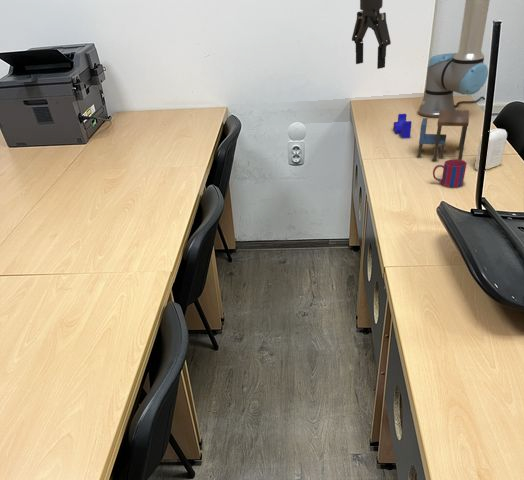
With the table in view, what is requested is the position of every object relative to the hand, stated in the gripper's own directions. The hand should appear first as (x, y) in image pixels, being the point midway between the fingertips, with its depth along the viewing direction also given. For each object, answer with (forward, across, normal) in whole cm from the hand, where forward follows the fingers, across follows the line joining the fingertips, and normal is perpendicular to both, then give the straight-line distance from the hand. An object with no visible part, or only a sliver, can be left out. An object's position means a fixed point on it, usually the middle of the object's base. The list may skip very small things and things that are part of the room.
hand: (370, 65), depth 189 cm
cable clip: (+28, -3, +18) cm, 34 cm away
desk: (+29, +27, +16) cm, 43 cm away
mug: (+29, +48, -2) cm, 56 cm away
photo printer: (+30, +44, +19) cm, 56 cm away
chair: (+29, +23, +12) cm, 39 cm away
